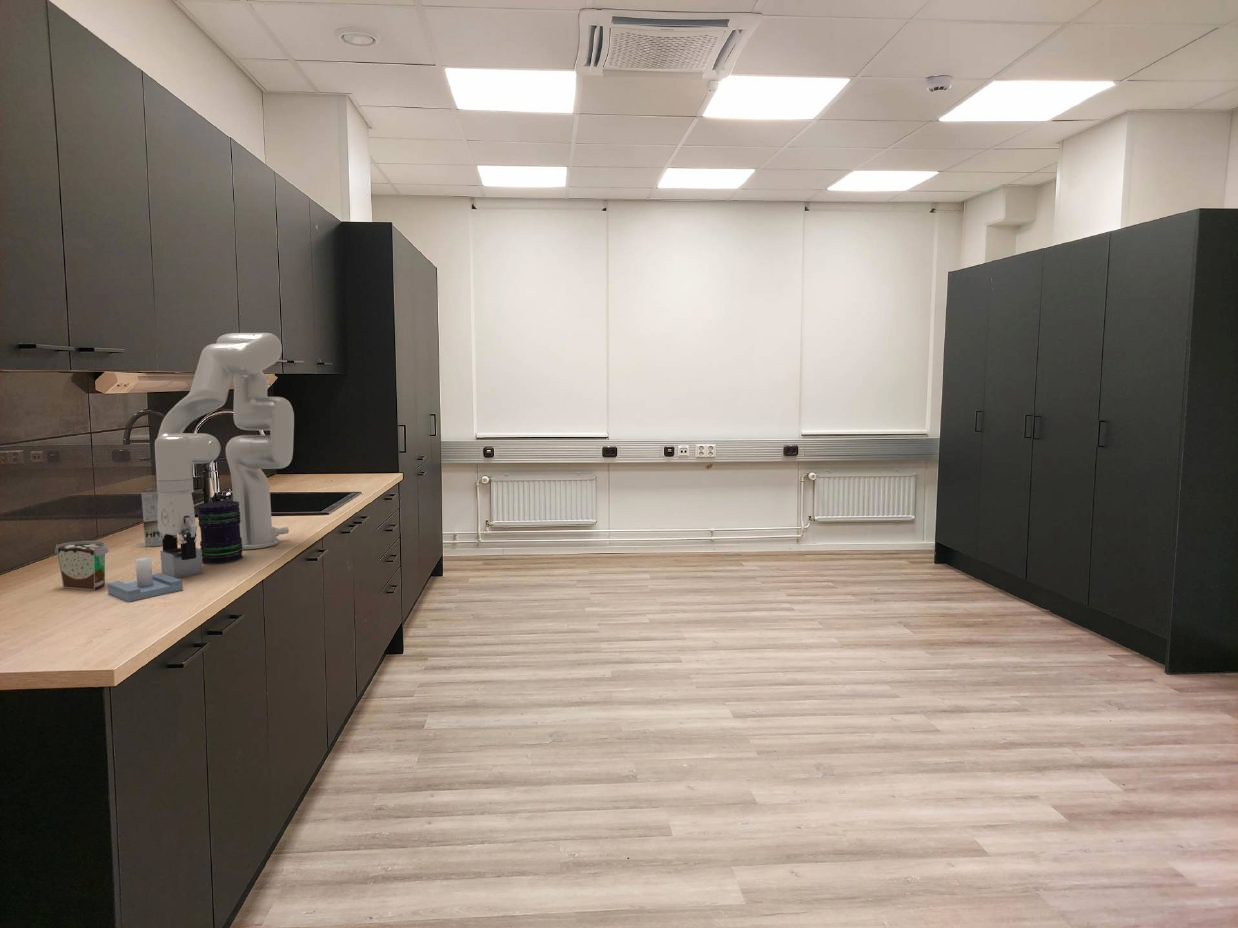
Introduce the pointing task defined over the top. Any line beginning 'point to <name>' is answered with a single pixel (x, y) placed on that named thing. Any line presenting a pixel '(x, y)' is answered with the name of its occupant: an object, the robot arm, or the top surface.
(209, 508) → the dark blue barrel
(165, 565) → the grey hollow block
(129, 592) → the shaft block
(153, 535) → the coffee box
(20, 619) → the top surface
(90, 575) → the food container
